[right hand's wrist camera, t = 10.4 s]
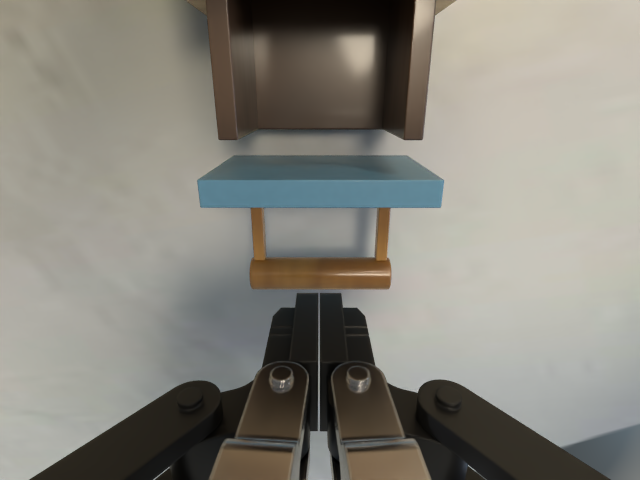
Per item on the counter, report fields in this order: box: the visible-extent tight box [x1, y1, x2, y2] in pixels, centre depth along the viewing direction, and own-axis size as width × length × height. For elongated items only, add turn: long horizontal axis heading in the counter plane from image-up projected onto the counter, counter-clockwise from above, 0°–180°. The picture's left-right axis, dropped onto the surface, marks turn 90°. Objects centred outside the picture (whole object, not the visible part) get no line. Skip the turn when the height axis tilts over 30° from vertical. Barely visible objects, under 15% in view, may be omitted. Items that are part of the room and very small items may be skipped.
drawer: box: [197, 0, 444, 289], centre depth 17 cm, size 21×10×7 cm, turn 0°
